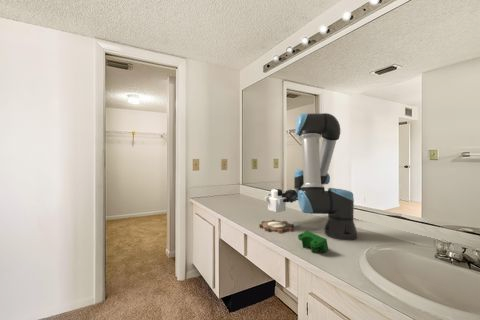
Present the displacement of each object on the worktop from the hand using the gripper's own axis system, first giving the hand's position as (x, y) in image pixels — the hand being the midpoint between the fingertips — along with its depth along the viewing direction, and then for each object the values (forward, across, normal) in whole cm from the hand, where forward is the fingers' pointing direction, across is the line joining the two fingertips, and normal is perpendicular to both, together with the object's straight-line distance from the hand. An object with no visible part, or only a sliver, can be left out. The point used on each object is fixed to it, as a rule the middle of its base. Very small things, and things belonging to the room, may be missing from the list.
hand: (272, 200), depth 115 cm
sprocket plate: (-4, 0, -16) cm, 16 cm away
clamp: (+10, -28, -16) cm, 33 cm away
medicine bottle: (-5, 0, -7) cm, 8 cm away
